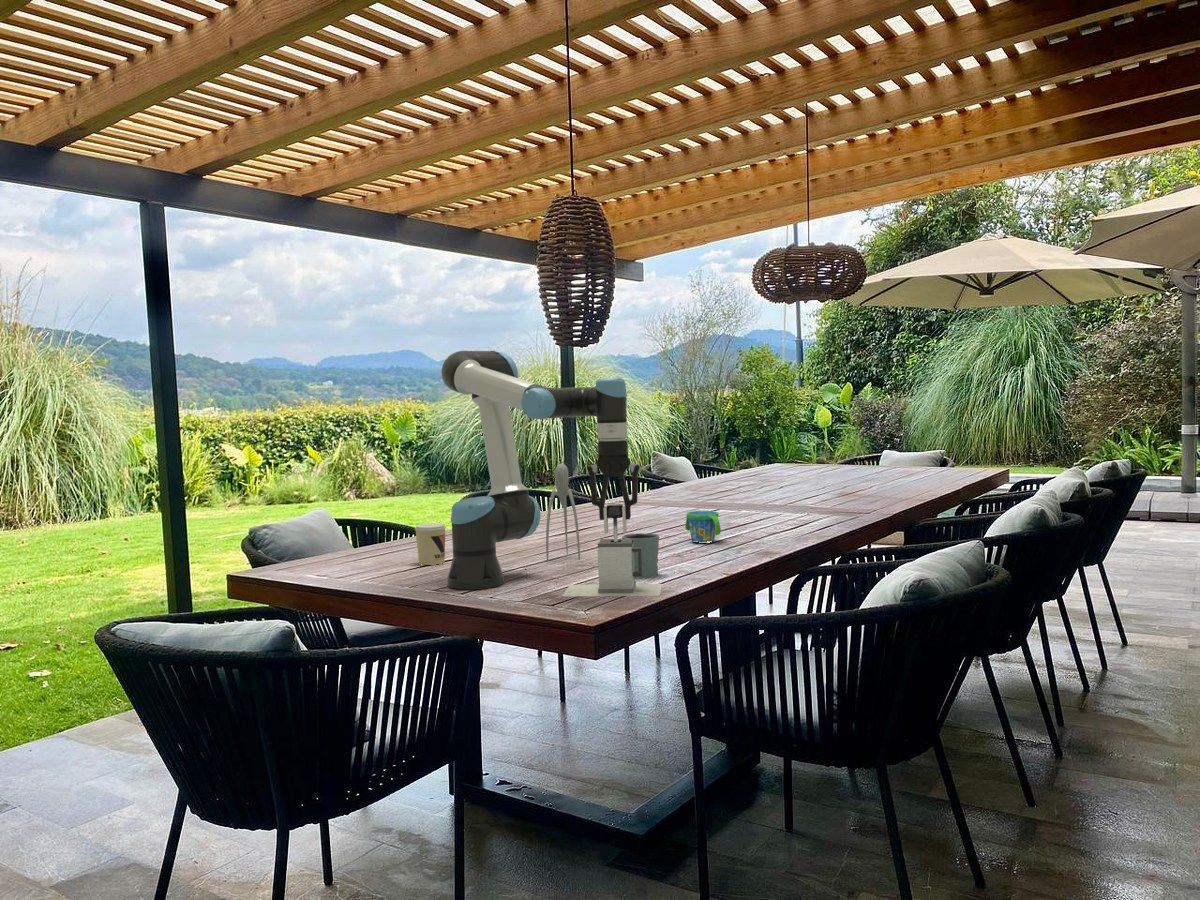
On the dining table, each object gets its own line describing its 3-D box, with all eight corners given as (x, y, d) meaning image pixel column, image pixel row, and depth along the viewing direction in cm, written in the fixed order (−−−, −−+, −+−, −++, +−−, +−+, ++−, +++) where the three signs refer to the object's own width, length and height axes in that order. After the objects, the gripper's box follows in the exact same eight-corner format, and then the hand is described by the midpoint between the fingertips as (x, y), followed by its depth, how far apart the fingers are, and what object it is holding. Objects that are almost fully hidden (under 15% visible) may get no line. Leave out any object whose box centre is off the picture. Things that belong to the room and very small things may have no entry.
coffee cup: (437, 566, 279) (436, 527, 278) (410, 565, 282) (409, 527, 281) (452, 561, 288) (451, 523, 287) (426, 560, 291) (424, 522, 290)
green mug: (629, 584, 244) (628, 539, 243) (618, 577, 253) (617, 534, 253) (665, 580, 246) (664, 536, 246) (653, 574, 256) (651, 531, 255)
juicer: (583, 555, 290) (580, 461, 289) (580, 560, 281) (576, 463, 280) (551, 556, 291) (547, 462, 290) (546, 561, 282) (543, 464, 281)
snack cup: (729, 543, 304) (729, 513, 304) (703, 547, 299) (702, 516, 299) (702, 538, 318) (702, 509, 317) (677, 541, 313) (676, 511, 312)
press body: (598, 593, 227) (596, 544, 227) (601, 586, 236) (600, 538, 236) (641, 592, 226) (640, 543, 226) (643, 585, 235) (642, 538, 234)
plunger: (603, 579, 229) (601, 507, 228) (606, 575, 235) (604, 504, 234) (627, 579, 228) (625, 506, 227) (629, 574, 234) (627, 503, 233)
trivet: (562, 601, 225) (562, 596, 225) (570, 589, 239) (569, 584, 239) (659, 600, 223) (659, 595, 223) (662, 588, 237) (661, 583, 237)
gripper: (576, 441, 226) (580, 535, 228) (645, 439, 225) (648, 534, 226) (580, 440, 234) (583, 531, 235) (647, 438, 232) (650, 529, 233)
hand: (615, 532), depth 231 cm, fingers closed on plunger, 4 cm apart
